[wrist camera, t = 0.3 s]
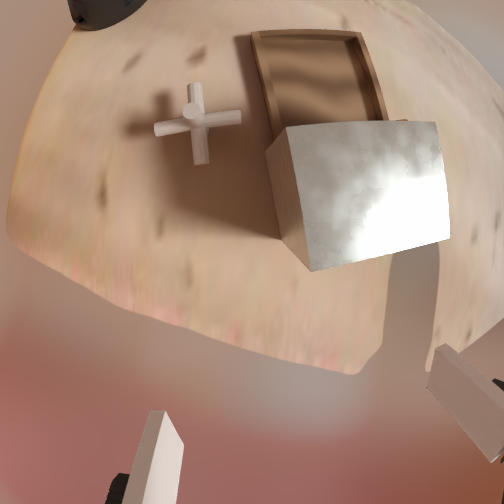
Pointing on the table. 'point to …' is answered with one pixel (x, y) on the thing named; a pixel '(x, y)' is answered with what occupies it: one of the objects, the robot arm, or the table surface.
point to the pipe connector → (197, 123)
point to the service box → (357, 189)
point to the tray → (316, 77)
